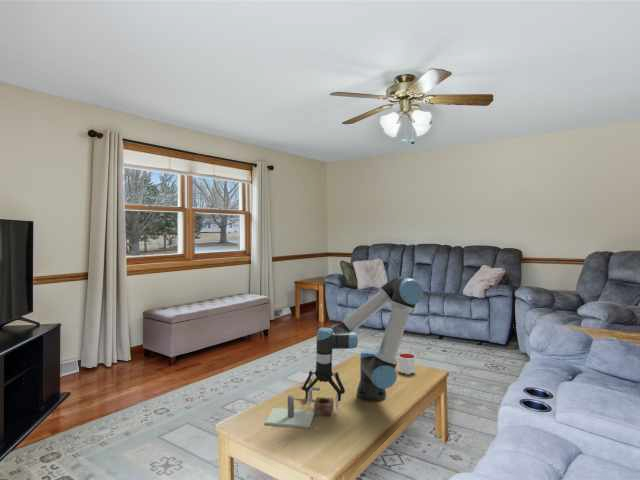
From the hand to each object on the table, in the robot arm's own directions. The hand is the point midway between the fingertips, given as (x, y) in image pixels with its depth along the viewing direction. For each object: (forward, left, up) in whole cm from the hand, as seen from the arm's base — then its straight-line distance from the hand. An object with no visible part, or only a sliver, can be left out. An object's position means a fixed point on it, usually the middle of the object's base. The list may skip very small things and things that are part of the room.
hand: (322, 406), depth 180 cm
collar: (0, 0, -3) cm, 3 cm away
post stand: (+14, +9, -3) cm, 16 cm away
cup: (-43, -60, -3) cm, 74 cm away
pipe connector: (+9, -14, -3) cm, 17 cm away
